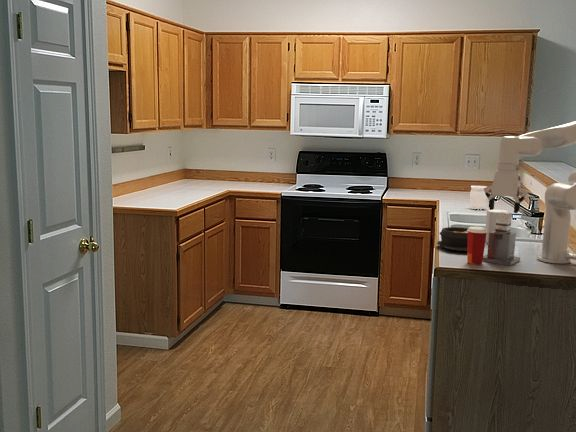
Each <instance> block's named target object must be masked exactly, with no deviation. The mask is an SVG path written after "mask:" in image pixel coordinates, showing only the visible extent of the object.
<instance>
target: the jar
mask: <svg viewBox="0 0 576 432" xmlns="http://www.w3.org/2000/svg"><path fill="white" fill-rule="evenodd" d="M485 187H488V186H487V185H479V184H478V185H471V186H470V188H471V189H470V192H469V201H470V203H469V204H470V205H471V206H470V209H471V210H473V209H478V210H477V211H480V210H479V209H484V210H485V205H486V203H487V199H488V197H487V196H486V195H485V192H484V188H485Z"/></svg>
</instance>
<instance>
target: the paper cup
mask: <svg viewBox="0 0 576 432" xmlns="http://www.w3.org/2000/svg"><path fill="white" fill-rule="evenodd" d="M467 228H468V230H467V231H468V247H467V251H466V252H467V254H466V255H467V256H466V258H467V259H466V261H467V264H469V265H474V266H480V265H481V266H482V264H483V262H484V261H483V256H485V255H484V254H485V247H486V234H487V229H486V227H483V226H482V227H481V226H469V227H467Z"/></svg>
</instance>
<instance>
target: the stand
mask: <svg viewBox="0 0 576 432" xmlns="http://www.w3.org/2000/svg"><path fill="white" fill-rule="evenodd" d="M516 238H517V233H516V232H512V231H510V234H508V235H507V234H499V233H495V231H492V232H490V233H489V241H488V244H487V252H486V253H487V254H485V255H483V261H482V262H483V263H490V264H495V265H496V264H498V265H503V266H509V267H511V266H513V265H515V264H517V263H519V262H521V257H520V256H515V250H516V249H515V247H516Z"/></svg>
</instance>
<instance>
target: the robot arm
mask: <svg viewBox="0 0 576 432" xmlns="http://www.w3.org/2000/svg"><path fill="white" fill-rule="evenodd" d="M499 143H500V144H499V152H498V163H497V164H498V165H497V170H495V173H494V176H493V178H492V179H493V180H492V184H490V185H488V186H487V187H485V188H484V192H485V195H486V196H487V199H488V208H489V210H495V203H496V202H495V197H504V198H513V200H514V201H515V202H514V207H513V213H514V214H517V213H518V212H519V211H520V208H521V207H520V206H521V203H522V202H523V201H525V200H526V198H527V197H528V195H529V192H528V191H527V190H525V189H524V188H522V187H521V172H519V171H520V170H522V169H523V166H522V165H520V164H519V162H520V156H525V157H535V156H538V155H540V154H541V152H542V151H543V149H557V148H558V149H559V148H566V147H567V146H572V145H575V144H576V120H575V121H571V122H568V123H564V124H561V125H558V126H552V127H548V128H544V129H540V130H536V131H532V132H527V133H524V134H520V135H517V136H512V135H510V136H509V135H506V136H505V135H504V136H502V137H501V138H500V141H499ZM489 190H491V193H490V192H489ZM521 193H522V195H521ZM520 195H521V197H520ZM544 204H545V207H544V208H545V215H544V225H543V236H542V243H541V244H542V245H541V254H538V255H537V256H536V259H537V260H538V261H541V262H544V263H549V264H557V265H558V264H559V265H560V264H561V265H562V264H564V265H566V264H570V263H571V260H574V261H576V254H575V253H574V254H572V253H571V252H570V250H568V248H569V239H570V230H571V220H572V218H571V216H572V215H571V211H576V169H574V170H573V171H571V173H570V174H569V176H568V178H567V183H563V182H556V183H554V182H553V183H552V184H550V185H548V187H547V188H546V190H545V192H544Z"/></svg>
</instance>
